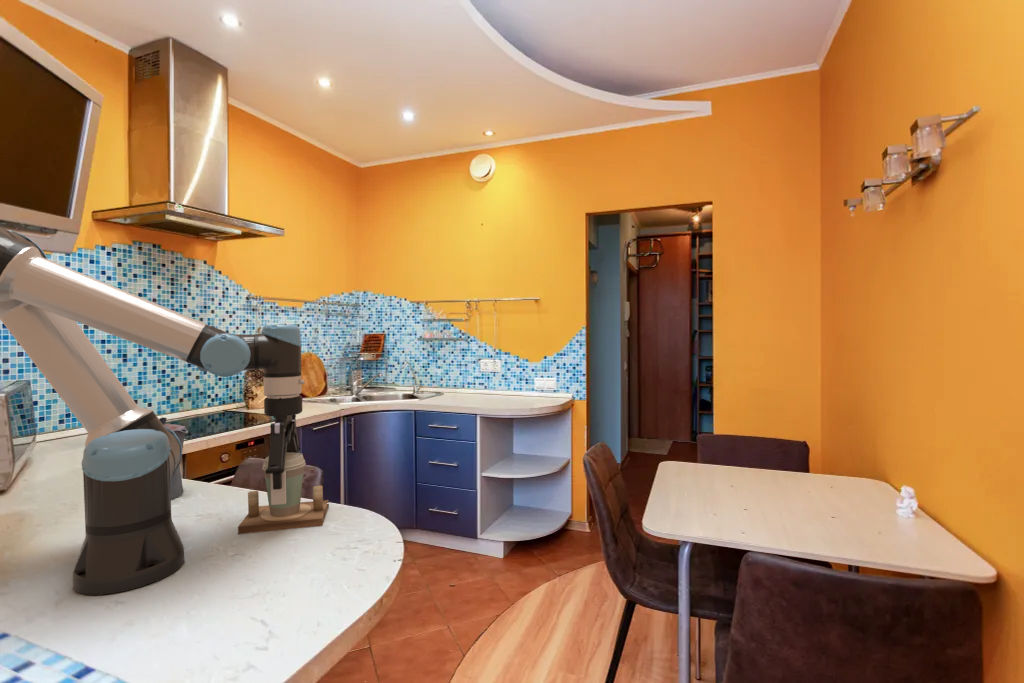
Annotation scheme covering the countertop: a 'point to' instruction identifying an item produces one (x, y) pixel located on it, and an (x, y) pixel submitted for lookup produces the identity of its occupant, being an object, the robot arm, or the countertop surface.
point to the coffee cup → (288, 485)
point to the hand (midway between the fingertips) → (285, 493)
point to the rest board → (264, 521)
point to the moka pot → (176, 477)
